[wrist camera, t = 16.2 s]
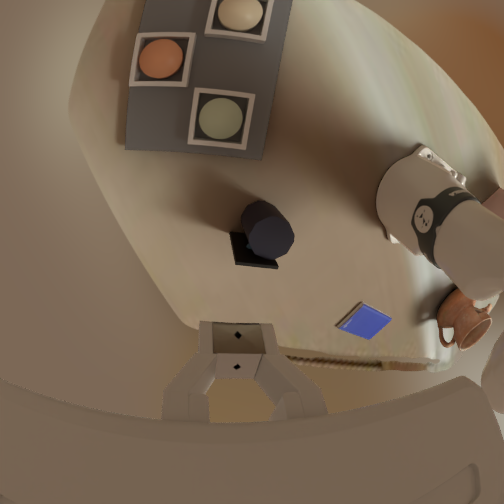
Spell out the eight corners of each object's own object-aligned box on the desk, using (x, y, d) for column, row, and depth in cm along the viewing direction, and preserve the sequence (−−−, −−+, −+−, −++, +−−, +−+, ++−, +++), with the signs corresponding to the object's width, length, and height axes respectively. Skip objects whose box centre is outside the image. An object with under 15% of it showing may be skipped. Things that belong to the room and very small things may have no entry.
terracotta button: (187, 42, 24) (185, 39, 22) (180, 79, 27) (178, 78, 25) (147, 42, 23) (142, 39, 21) (141, 78, 26) (136, 78, 24)
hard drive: (338, 329, 57) (368, 340, 61) (364, 304, 53) (392, 319, 58) (336, 324, 58) (366, 335, 63) (361, 299, 54) (389, 314, 59)
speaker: (260, 249, 44) (272, 285, 34) (228, 233, 42) (232, 266, 32) (286, 209, 41) (307, 236, 32) (254, 191, 39) (267, 213, 30)
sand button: (263, 3, 22) (266, -2, 20) (256, 35, 24) (258, 31, 23) (222, -3, 21) (222, -8, 19) (214, 29, 24) (214, 26, 22)
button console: (289, -1, 23) (297, -10, 20) (259, 157, 36) (263, 164, 32) (154, -13, 20) (147, -23, 16) (129, 146, 32) (120, 153, 29)
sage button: (244, 100, 29) (245, 100, 28) (237, 138, 32) (238, 141, 30) (203, 96, 28) (201, 96, 27) (197, 134, 31) (196, 137, 29)
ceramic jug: (467, 269, 55) (496, 304, 43) (475, 290, 61) (499, 322, 49) (420, 313, 61) (444, 353, 50) (434, 329, 67) (454, 363, 56)
